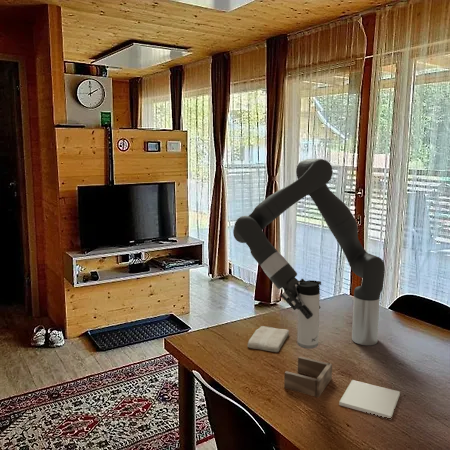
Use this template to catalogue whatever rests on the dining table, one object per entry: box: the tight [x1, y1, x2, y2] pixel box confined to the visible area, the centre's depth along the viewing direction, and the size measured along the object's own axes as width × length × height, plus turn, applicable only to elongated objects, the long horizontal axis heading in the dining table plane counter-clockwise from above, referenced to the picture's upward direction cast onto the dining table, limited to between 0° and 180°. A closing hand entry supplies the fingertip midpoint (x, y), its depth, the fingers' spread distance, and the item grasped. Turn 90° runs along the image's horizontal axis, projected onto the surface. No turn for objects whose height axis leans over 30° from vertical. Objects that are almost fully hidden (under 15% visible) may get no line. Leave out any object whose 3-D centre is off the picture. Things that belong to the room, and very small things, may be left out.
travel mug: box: [296, 279, 322, 350], centre depth 137 cm, size 6×7×20 cm
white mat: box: [338, 379, 401, 419], centre depth 131 cm, size 14×14×1 cm
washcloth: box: [247, 325, 290, 353], centre depth 171 cm, size 12×18×3 cm, turn 160°
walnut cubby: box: [283, 355, 333, 398], centre depth 140 cm, size 12×11×5 cm
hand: (314, 313), depth 136 cm, fingers closed on travel mug, 6 cm apart
